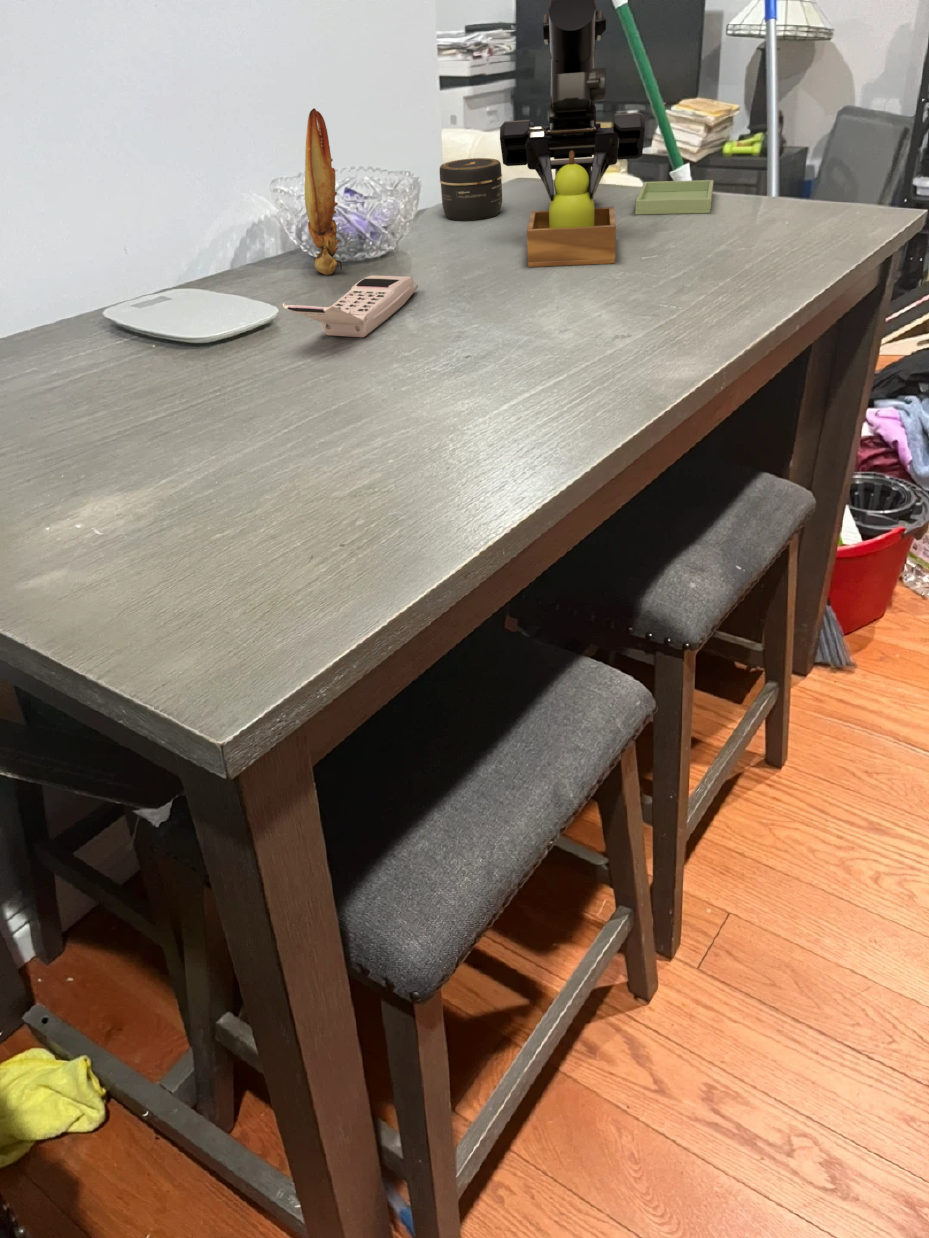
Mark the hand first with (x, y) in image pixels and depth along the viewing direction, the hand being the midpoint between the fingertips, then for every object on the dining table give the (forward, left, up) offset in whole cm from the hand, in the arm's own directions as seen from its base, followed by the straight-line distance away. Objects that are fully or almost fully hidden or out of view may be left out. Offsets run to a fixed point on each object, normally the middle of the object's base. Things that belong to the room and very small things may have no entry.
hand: (571, 198), depth 118 cm
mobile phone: (+29, -20, -8) cm, 36 cm away
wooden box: (-1, 0, -7) cm, 7 cm away
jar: (-26, -20, -8) cm, 34 cm away
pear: (-1, 0, -7) cm, 7 cm away
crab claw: (+9, -32, -8) cm, 34 cm away
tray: (-31, +12, -7) cm, 34 cm away
